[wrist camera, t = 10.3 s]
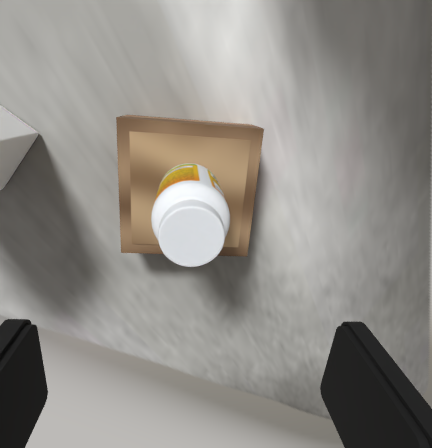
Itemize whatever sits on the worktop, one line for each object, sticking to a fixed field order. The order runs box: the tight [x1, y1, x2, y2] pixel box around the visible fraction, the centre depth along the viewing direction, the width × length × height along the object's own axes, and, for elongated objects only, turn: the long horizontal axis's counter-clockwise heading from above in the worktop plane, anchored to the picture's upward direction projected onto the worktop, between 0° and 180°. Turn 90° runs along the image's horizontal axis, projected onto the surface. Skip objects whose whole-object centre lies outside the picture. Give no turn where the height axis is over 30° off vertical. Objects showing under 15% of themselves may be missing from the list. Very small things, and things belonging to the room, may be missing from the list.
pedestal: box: [116, 115, 264, 256], centre depth 30 cm, size 12×12×5 cm
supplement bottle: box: [151, 163, 230, 267], centre depth 23 cm, size 5×5×10 cm
